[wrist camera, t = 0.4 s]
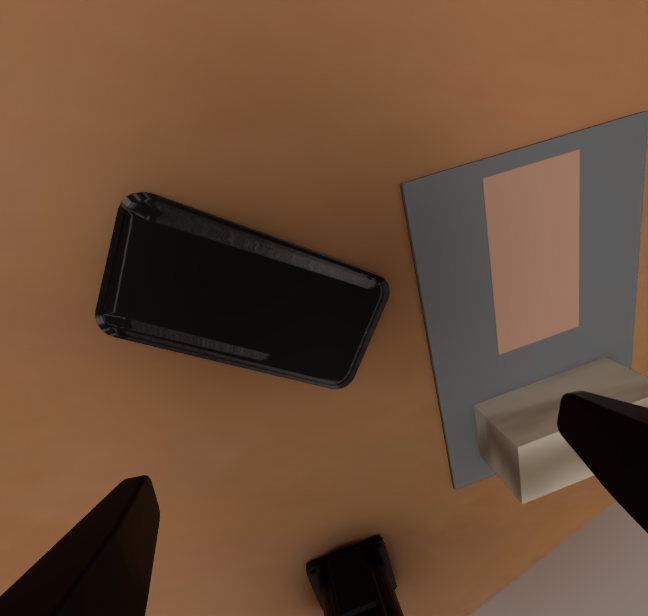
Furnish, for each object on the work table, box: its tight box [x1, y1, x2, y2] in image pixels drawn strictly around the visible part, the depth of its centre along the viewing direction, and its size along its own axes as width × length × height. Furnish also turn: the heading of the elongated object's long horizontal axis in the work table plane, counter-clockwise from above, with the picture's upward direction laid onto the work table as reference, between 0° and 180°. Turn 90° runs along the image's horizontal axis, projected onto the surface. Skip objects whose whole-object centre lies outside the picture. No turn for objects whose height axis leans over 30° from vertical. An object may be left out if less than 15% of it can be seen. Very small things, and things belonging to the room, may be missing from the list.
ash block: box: [474, 357, 648, 504], centre depth 25 cm, size 5×11×4 cm, turn 105°
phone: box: [95, 192, 389, 389], centre depth 20 cm, size 8×1×15 cm
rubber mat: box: [400, 111, 648, 490], centre depth 24 cm, size 24×16×1 cm, turn 15°
